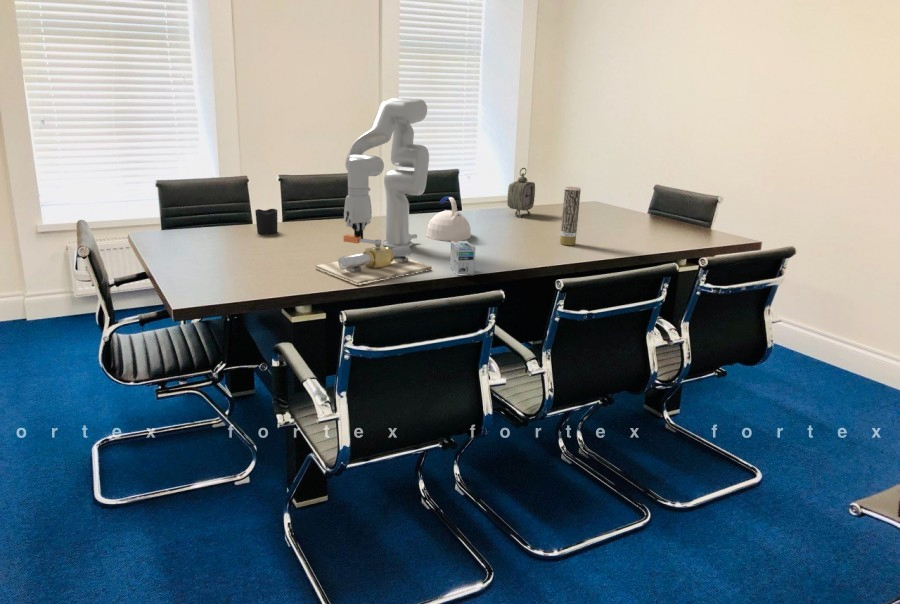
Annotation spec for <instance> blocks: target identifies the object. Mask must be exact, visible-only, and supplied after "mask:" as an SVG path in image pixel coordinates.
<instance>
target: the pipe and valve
mask: <svg viewBox="0 0 900 604" xmlns="http://www.w3.org/2000/svg"><path fill="white" fill-rule="evenodd" d="M411 255H412V250H411V247H409V246H403V247H397V248H390V247H386V246H383V245H381V246H374V247H369V248H368V247H367V248H365V250H364V251H363V253H357V254H354V255H353V254H352V255H347V256H341V257H339V259H338V264H339V267H340V269H342V270H345V269H346V270H347V271H350V272H353V273H358V272H361V267H360V266H366V267H370V266H371V267H374V268H378V267H383V266H388V265H391V262H392V261H393V260H394V261H396V262H399V263H402V264H403V263H408V259H409V257H411Z"/></svg>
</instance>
